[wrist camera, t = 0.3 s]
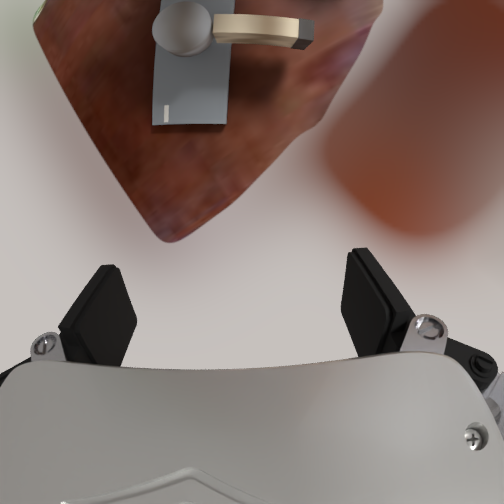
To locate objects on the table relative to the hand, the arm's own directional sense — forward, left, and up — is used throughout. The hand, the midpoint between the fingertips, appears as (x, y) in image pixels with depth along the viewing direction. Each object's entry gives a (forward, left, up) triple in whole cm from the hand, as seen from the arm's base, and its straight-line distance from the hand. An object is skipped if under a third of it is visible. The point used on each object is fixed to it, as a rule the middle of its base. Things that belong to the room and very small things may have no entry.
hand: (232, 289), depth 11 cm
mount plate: (-17, -7, -30) cm, 35 cm away
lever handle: (-17, -2, -26) cm, 31 cm away
